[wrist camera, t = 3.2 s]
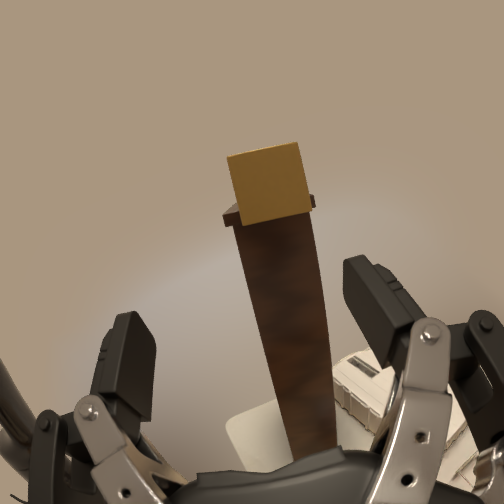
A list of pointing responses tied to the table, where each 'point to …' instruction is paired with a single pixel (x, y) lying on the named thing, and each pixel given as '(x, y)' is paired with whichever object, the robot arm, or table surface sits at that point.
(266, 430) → the table surface
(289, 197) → the mustard yellow prism
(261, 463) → the table surface
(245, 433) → the table surface
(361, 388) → the model shed
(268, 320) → the walnut stand
